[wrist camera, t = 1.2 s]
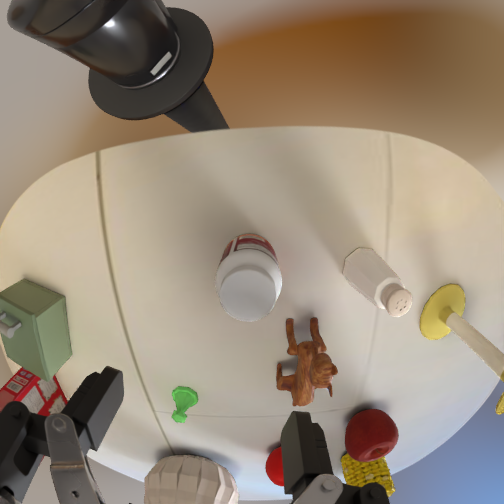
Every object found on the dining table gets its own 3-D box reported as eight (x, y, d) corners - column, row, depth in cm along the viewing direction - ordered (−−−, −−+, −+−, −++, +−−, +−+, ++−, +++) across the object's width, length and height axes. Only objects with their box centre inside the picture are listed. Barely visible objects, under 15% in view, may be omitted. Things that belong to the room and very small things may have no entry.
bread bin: (23, 278, 34) (-5, 295, 26) (64, 296, 34) (35, 318, 27) (32, 334, 37) (9, 354, 30) (72, 354, 38) (50, 379, 30)
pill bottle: (242, 291, 34) (237, 341, 23) (213, 251, 32) (193, 286, 22) (285, 265, 33) (299, 306, 22) (257, 222, 31) (258, 245, 21)
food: (374, 431, 44) (374, 449, 47) (326, 457, 42) (331, 472, 45) (410, 476, 29) (404, 489, 32) (356, 509, 28) (357, 516, 31)
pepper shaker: (387, 258, 32) (433, 290, 22) (365, 293, 33) (402, 336, 23) (355, 239, 32) (397, 267, 21) (333, 276, 33) (364, 318, 22)
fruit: (274, 435, 41) (276, 478, 32) (318, 439, 42) (326, 479, 32) (258, 457, 44) (258, 495, 34) (299, 461, 44) (303, 497, 35)
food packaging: (33, 356, 39) (-32, 426, 15) (49, 361, 39) (-18, 440, 15) (56, 405, 43) (10, 474, 18) (72, 411, 43) (27, 486, 18)
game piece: (201, 391, 38) (195, 419, 32) (194, 406, 39) (188, 433, 34) (175, 382, 38) (166, 408, 32) (170, 398, 39) (161, 423, 33)
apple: (339, 435, 42) (349, 474, 32) (338, 407, 39) (351, 451, 30) (383, 421, 41) (399, 458, 31) (388, 392, 39) (408, 431, 29)
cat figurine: (313, 399, 39) (328, 466, 25) (273, 401, 39) (277, 471, 25) (328, 302, 34) (363, 368, 21) (277, 303, 34) (288, 374, 21)
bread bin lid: (-6, 290, 26) (-24, 301, 22) (34, 313, 27) (15, 327, 22) (9, 354, 30) (-4, 367, 25) (50, 379, 30) (37, 395, 26)
